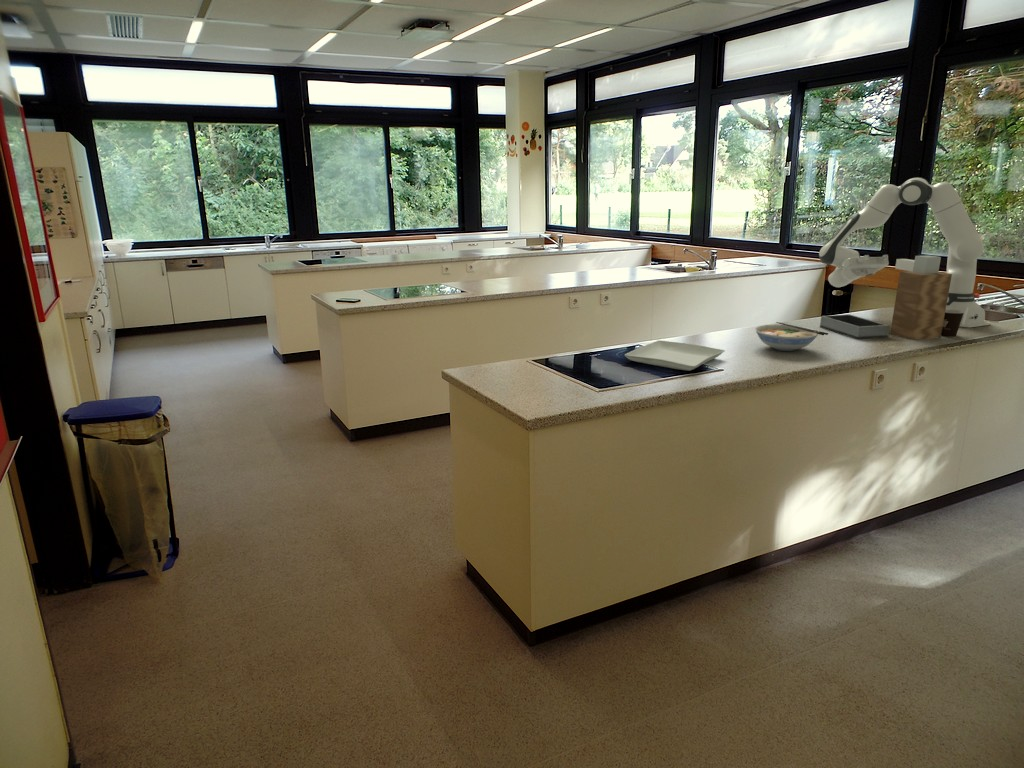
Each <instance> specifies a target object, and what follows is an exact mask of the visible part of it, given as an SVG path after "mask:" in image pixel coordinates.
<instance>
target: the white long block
mask: <svg viewBox="0 0 1024 768" xmlns="http://www.w3.org/2000/svg"><path fill="white" fill-rule="evenodd" d="M941 259H942V257H941V256H936V255H930V254H929V255H915V257H914V259H909V258H896V261H895V267H894V268H895V270H900V271H901V270H902V271H912V272H915V273H921V274H936V273H938V272H940V271H939V270H940V264H941Z"/></svg>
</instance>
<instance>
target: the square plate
mask: <svg viewBox="0 0 1024 768" xmlns="http://www.w3.org/2000/svg"><path fill="white" fill-rule="evenodd" d="M724 352H726V350H724V349H720V348H715V347H708V346H703V345H698V344H692V343H686V342H685V343H684V342H679V341H678V342H676V341H669V340H668V341H667V340H661V339H660V340H659V339H658V340H656V341H653V342H651V343H648V344H646V345H642V346H640V347H637V348H635V349H634V350H630V351H628V352H627V353H624V357H626V358H627V359H628V360H629V361H633V362H636V363H641V364H645V365H646V364H647V365H651V366H657V367H662V368H663V367H664V368H669V369H674V370H681V371H689V372H690V371H692V370H695V369H697V368H699V367H700V366H702V365H703V364H705V363H706V364H707V363H709V362H710V361H712V360H714V359H716V358H718V357H719V356H721V355H722V354H723V353H724Z"/></svg>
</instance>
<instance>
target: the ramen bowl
mask: <svg viewBox="0 0 1024 768" xmlns="http://www.w3.org/2000/svg"><path fill="white" fill-rule="evenodd" d="M775 323H776V324H773V323H772V324H763V325H758V326H756V327H754V330H755V333H756V334H757V336H758V337H759V339H760V340H761V342H762V343H764V344H765V345H767V346H769V347H771V348H773V349H774V350H777V351H781V352H792V351H795V350H798V349H802V348H805V347H807V346H808V345H810V344H811V343H812V342H813V341H814V340H815V339H816V338H817V337H818V335H821V336H825V335H826V336H828V335H829V333H828V332H824V331H820V330H816V329H813V328H811V327H807V326H803V325H795V324H794V325H792V324H787V323H785V322H784V323H783V322H777V321H776V322H775Z"/></svg>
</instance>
